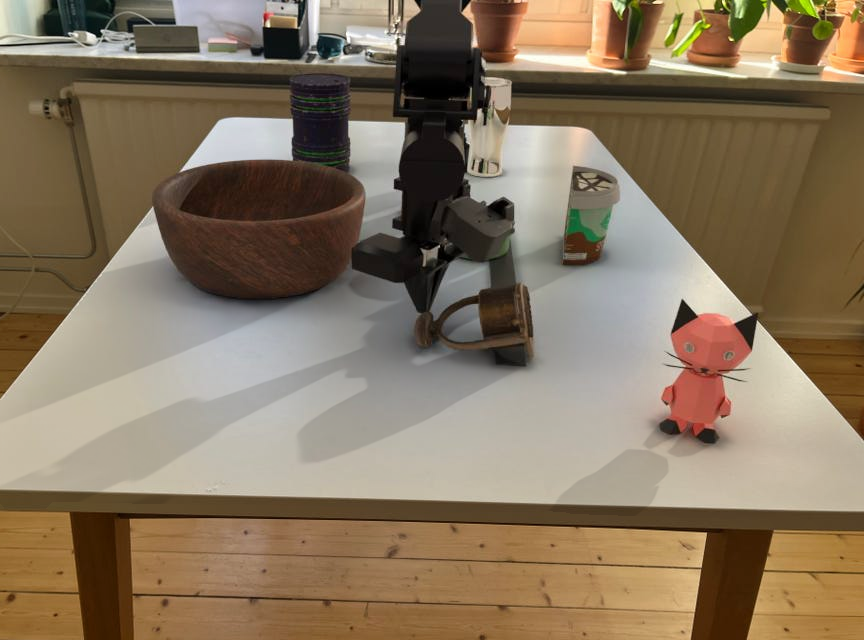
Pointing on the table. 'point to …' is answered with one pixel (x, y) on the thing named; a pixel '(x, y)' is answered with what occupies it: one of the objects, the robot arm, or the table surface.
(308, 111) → the storage jar
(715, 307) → the table surface
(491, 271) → the dark grey flat bar
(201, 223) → the wooden bowl
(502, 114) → the beer glass
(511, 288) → the bronze metal cylindrical vessel
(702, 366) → the cat figurine
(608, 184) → the food container
